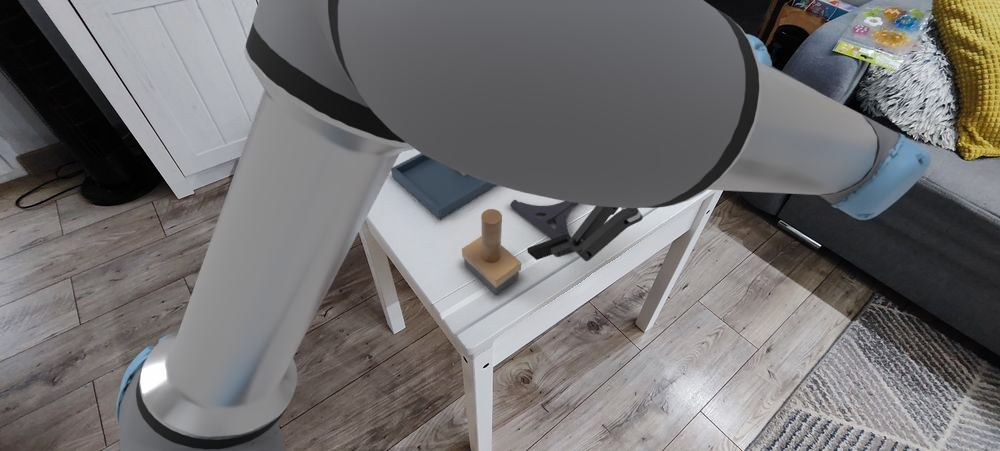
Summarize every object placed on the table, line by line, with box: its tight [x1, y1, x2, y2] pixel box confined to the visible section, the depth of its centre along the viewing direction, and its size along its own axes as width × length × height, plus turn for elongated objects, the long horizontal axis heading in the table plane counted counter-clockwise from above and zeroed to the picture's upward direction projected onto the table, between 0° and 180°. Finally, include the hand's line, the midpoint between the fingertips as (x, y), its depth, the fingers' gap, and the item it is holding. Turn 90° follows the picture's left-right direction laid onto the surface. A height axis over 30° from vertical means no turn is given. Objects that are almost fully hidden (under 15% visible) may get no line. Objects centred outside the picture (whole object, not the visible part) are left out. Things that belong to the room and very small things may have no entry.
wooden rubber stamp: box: [461, 208, 522, 296], centre depth 71 cm, size 8×5×14 cm, turn 42°
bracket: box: [510, 199, 579, 239], centre depth 85 cm, size 14×15×3 cm
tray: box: [390, 152, 497, 220], centre depth 93 cm, size 25×16×2 cm, turn 132°
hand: (528, 216), depth 71 cm, fingers open, 13 cm apart
